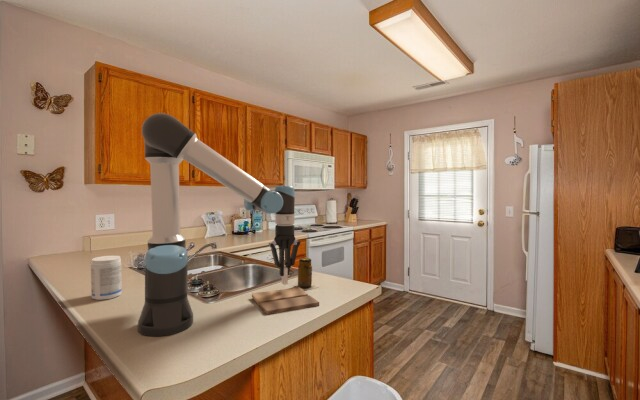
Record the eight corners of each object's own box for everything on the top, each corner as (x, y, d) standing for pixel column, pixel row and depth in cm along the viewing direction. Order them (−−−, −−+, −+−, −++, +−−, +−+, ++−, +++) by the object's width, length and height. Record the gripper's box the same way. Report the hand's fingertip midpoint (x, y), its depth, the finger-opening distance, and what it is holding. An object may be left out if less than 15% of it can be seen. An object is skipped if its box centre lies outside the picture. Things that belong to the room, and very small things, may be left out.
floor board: (266, 314, 106) (266, 311, 106) (258, 305, 113) (258, 302, 113) (319, 305, 115) (319, 302, 115) (308, 297, 123) (308, 294, 123)
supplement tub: (126, 292, 125) (126, 255, 124) (111, 300, 115) (111, 260, 114) (101, 292, 124) (101, 254, 124) (84, 300, 115) (84, 260, 114)
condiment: (306, 282, 142) (307, 256, 142) (318, 287, 136) (318, 260, 136) (293, 285, 138) (293, 258, 137) (304, 290, 131) (305, 262, 131)
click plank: (258, 305, 114) (258, 301, 114) (251, 296, 121) (252, 293, 121) (308, 297, 123) (308, 294, 123) (299, 289, 131) (299, 287, 130)
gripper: (272, 226, 118) (272, 288, 119) (303, 224, 124) (303, 283, 125) (265, 224, 125) (265, 283, 126) (296, 222, 131) (295, 279, 132)
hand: (284, 283), depth 126 cm, fingers closed
